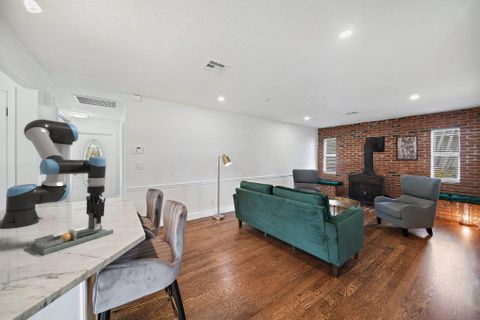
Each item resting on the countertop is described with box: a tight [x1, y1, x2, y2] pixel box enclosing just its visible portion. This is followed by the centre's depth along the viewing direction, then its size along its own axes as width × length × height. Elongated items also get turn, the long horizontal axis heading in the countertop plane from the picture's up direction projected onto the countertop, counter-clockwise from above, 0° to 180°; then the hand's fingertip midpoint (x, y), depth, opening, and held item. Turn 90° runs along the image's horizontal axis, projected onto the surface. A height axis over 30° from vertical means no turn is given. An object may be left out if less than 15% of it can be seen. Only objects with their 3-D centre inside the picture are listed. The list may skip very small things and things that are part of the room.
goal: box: [34, 234, 63, 251], centre depth 85 cm, size 10×6×4 cm, turn 65°
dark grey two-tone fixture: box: [68, 211, 103, 240], centre depth 98 cm, size 5×13×11 cm, turn 155°
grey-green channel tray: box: [28, 228, 114, 256], centre depth 94 cm, size 14×28×2 cm, turn 155°
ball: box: [60, 232, 71, 242], centre depth 90 cm, size 4×4×4 cm
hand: (94, 228), depth 101 cm, fingers closed on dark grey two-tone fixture, 4 cm apart
